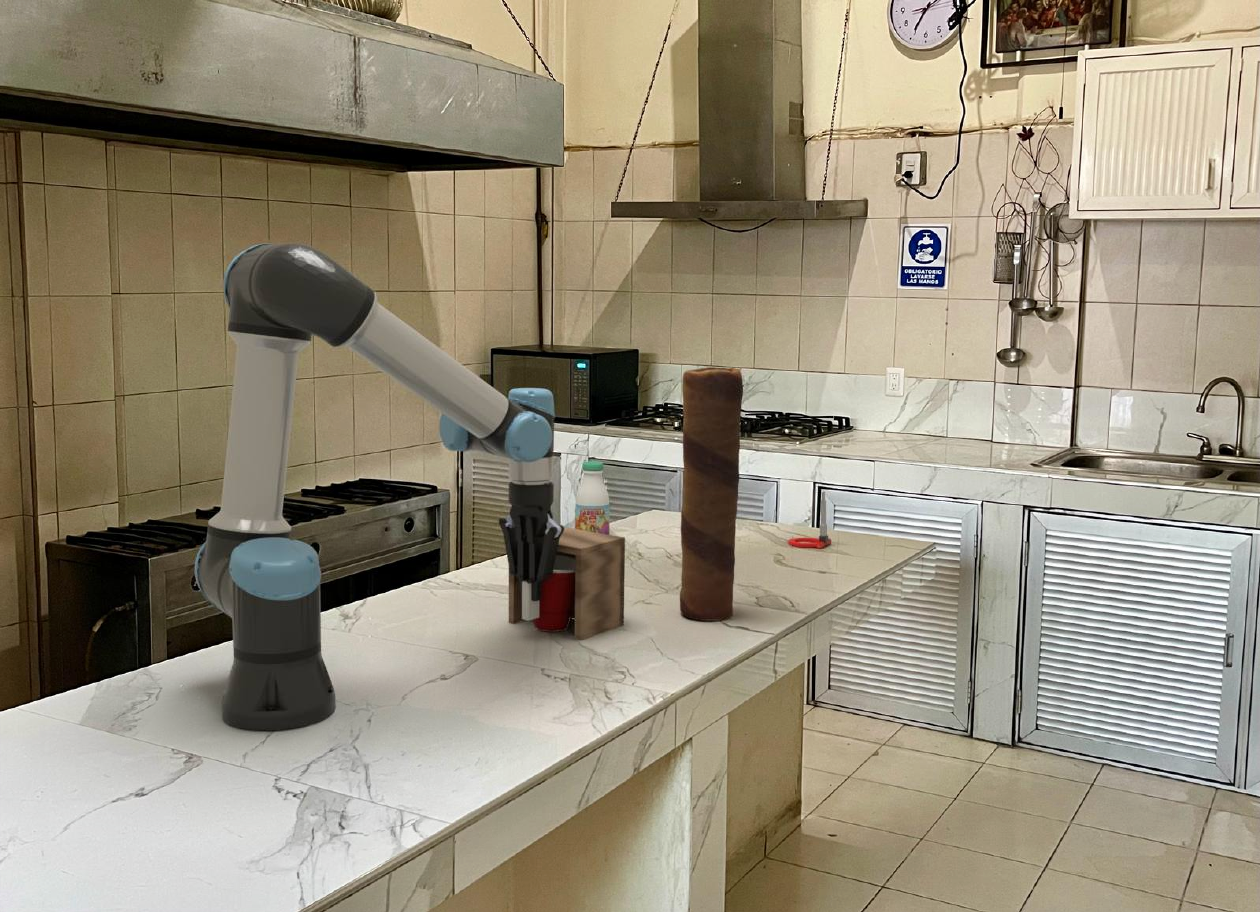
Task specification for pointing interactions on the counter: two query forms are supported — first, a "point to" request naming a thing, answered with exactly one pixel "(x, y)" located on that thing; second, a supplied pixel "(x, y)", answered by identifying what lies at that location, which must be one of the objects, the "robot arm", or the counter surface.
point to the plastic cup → (557, 596)
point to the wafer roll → (709, 490)
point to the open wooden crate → (588, 582)
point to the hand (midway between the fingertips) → (530, 618)
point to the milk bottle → (592, 501)
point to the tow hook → (823, 537)
